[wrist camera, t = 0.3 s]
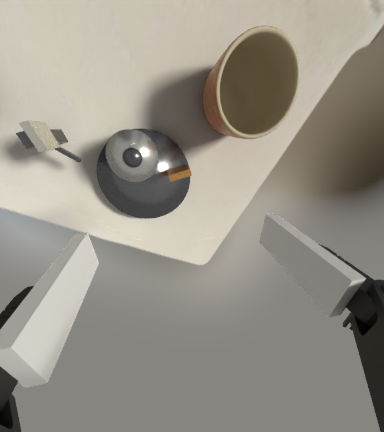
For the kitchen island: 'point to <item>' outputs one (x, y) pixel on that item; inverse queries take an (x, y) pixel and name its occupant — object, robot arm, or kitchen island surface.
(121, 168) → the cover
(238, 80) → the planter
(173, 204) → the turntable
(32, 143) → the gray post with pin
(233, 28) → the kitchen island surface
